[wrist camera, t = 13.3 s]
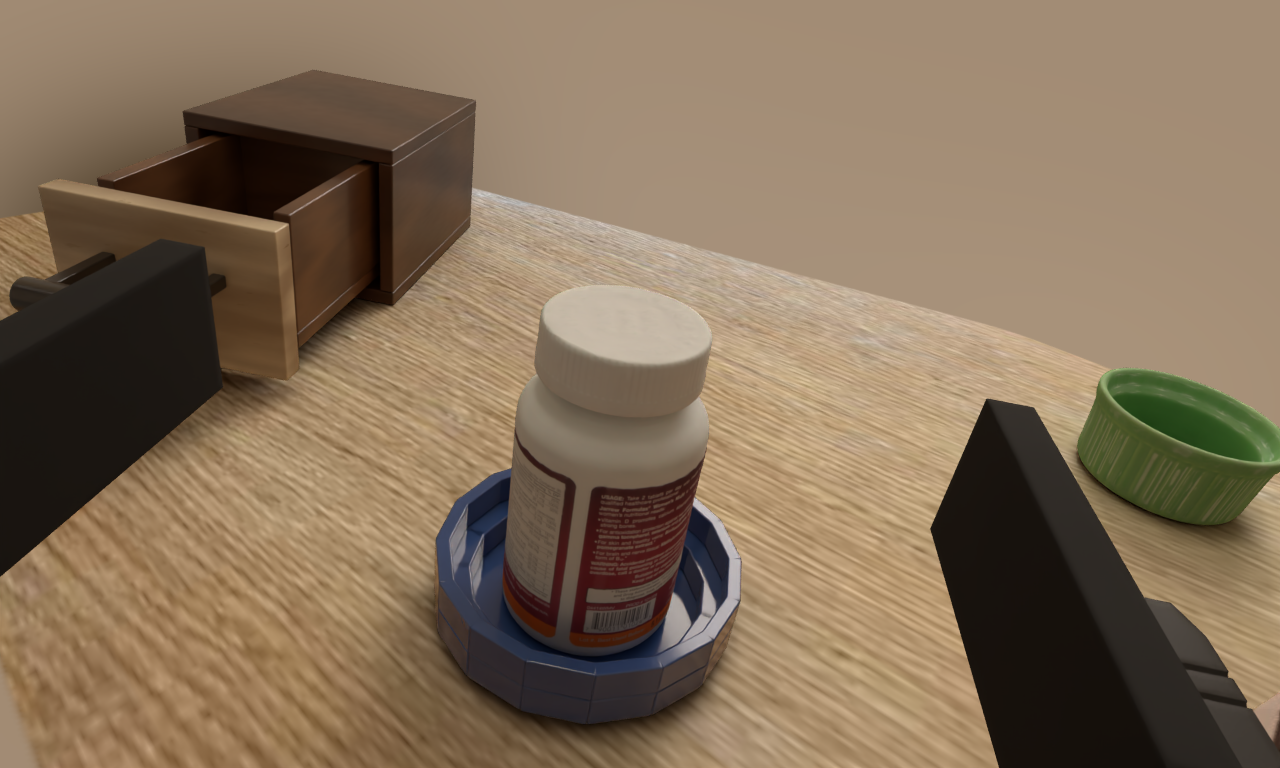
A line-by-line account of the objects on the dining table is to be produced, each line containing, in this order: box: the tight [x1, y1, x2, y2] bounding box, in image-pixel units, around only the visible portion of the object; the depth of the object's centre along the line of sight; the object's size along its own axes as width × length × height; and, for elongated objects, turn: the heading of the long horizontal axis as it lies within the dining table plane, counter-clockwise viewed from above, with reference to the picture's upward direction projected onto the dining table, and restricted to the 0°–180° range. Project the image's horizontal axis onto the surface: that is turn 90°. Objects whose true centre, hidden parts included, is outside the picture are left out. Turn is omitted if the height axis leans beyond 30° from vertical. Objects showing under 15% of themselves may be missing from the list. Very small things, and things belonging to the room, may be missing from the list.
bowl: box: [434, 468, 742, 724], centre depth 29 cm, size 11×11×3 cm
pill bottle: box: [503, 285, 712, 656], centre depth 27 cm, size 6×6×11 cm
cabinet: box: [183, 70, 476, 305], centre depth 51 cm, size 15×12×9 cm
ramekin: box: [1077, 368, 1280, 525], centre depth 42 cm, size 9×9×4 cm
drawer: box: [9, 132, 380, 381], centre depth 39 cm, size 18×10×7 cm, turn 173°
